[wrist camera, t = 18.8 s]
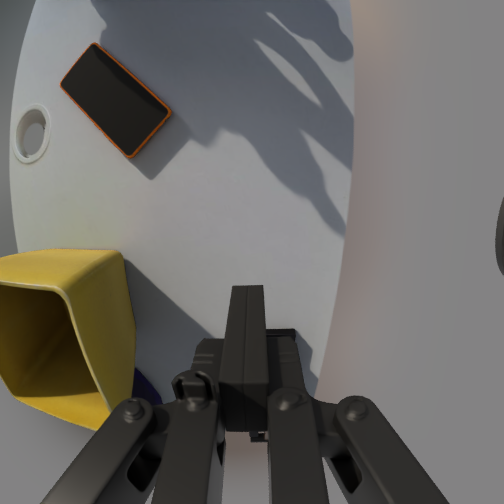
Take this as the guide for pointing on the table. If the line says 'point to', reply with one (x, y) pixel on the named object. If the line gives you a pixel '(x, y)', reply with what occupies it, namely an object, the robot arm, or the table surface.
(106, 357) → the flower pot
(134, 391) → the computer mouse
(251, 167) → the table surface
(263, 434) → the switch lever
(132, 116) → the smartphone
